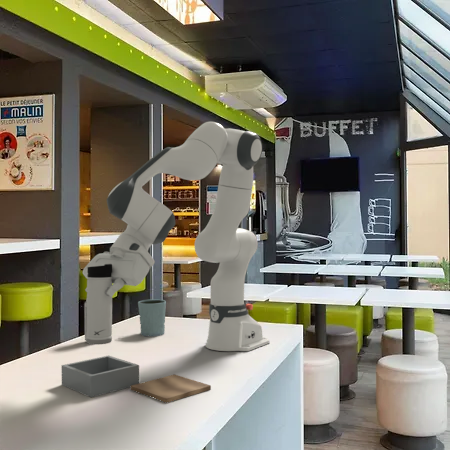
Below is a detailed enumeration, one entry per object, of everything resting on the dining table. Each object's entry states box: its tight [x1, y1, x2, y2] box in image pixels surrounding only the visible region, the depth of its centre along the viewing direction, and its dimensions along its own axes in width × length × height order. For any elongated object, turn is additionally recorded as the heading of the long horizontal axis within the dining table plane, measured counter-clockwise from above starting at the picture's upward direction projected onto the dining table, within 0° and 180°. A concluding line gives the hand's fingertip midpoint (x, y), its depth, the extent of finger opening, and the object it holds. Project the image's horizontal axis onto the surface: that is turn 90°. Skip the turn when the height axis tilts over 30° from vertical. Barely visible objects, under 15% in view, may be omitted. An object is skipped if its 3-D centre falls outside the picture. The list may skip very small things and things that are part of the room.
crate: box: [61, 355, 140, 398], centre depth 141 cm, size 14×14×5 cm
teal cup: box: [137, 299, 167, 337], centre depth 202 cm, size 10×10×12 cm
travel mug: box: [86, 264, 113, 345], centre depth 140 cm, size 6×7×20 cm
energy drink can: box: [84, 298, 87, 343], centre depth 189 cm, size 6×6×15 cm
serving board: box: [130, 374, 212, 404], centre depth 136 cm, size 14×14×1 cm
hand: (97, 293), depth 140 cm, fingers closed on travel mug, 6 cm apart
